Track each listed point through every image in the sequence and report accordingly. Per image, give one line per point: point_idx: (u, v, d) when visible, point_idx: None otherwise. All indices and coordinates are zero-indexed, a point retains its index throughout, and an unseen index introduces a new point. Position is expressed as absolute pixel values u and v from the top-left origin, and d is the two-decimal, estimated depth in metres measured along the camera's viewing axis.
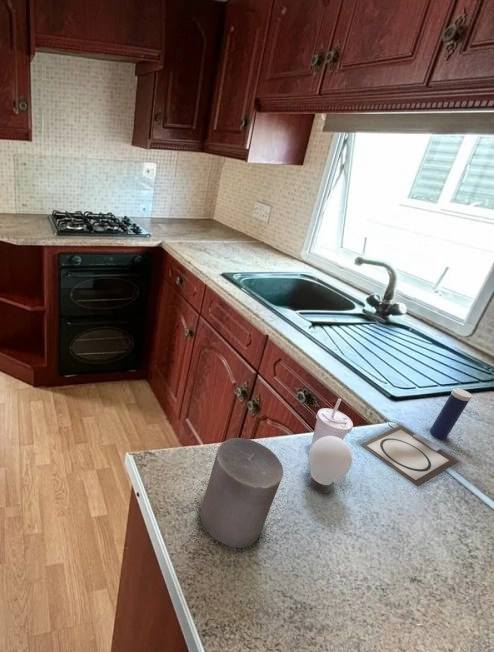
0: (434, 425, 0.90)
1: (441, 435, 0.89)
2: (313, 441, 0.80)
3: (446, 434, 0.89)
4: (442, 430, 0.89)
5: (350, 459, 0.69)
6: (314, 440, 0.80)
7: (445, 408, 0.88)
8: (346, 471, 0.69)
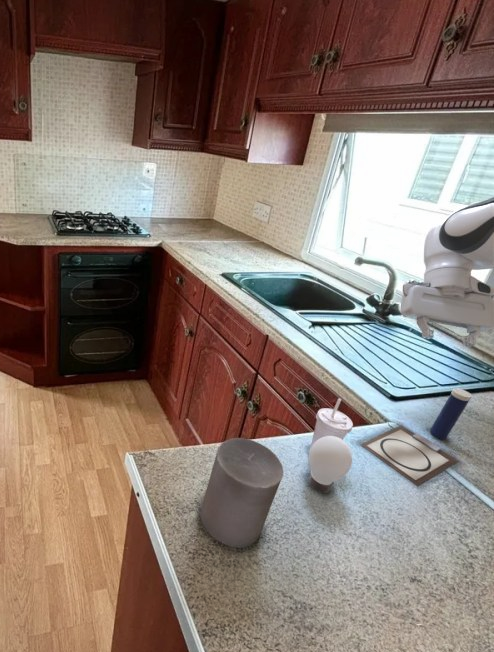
0: (434, 425, 0.90)
1: (441, 435, 0.89)
2: (313, 441, 0.80)
3: (446, 434, 0.89)
4: (442, 430, 0.89)
5: (350, 459, 0.69)
6: (314, 440, 0.80)
7: (445, 408, 0.88)
8: (346, 471, 0.69)
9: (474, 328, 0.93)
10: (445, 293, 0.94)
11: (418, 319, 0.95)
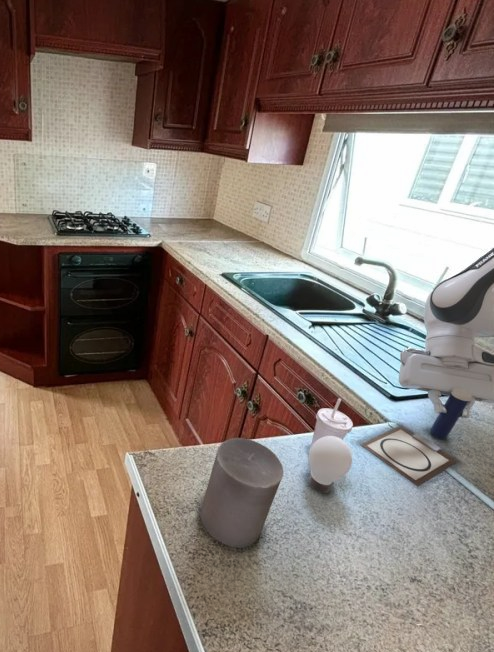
0: (434, 425, 0.90)
1: (441, 435, 0.89)
2: (313, 441, 0.80)
3: (446, 434, 0.89)
4: (442, 430, 0.89)
5: (350, 459, 0.69)
6: (314, 440, 0.80)
7: None
8: (346, 471, 0.69)
9: None
10: (446, 363, 0.89)
11: (429, 392, 0.90)
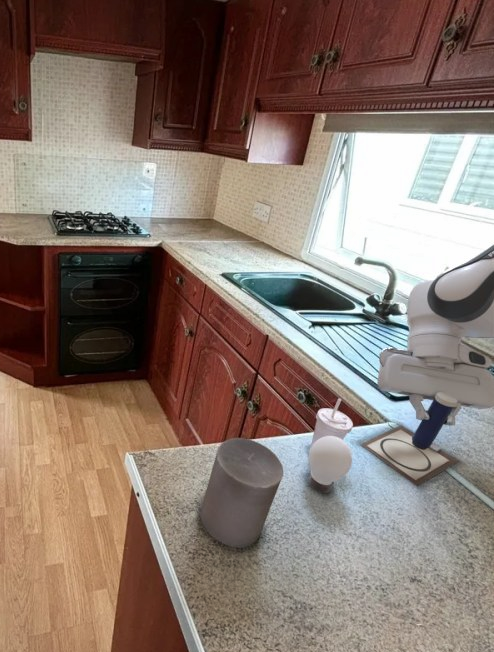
0: (416, 433, 0.81)
1: (424, 444, 0.80)
2: (313, 441, 0.80)
3: (429, 443, 0.80)
4: (424, 438, 0.80)
5: (350, 459, 0.69)
6: (314, 440, 0.80)
7: None
8: (346, 471, 0.69)
9: None
10: (429, 364, 0.80)
11: (411, 396, 0.81)
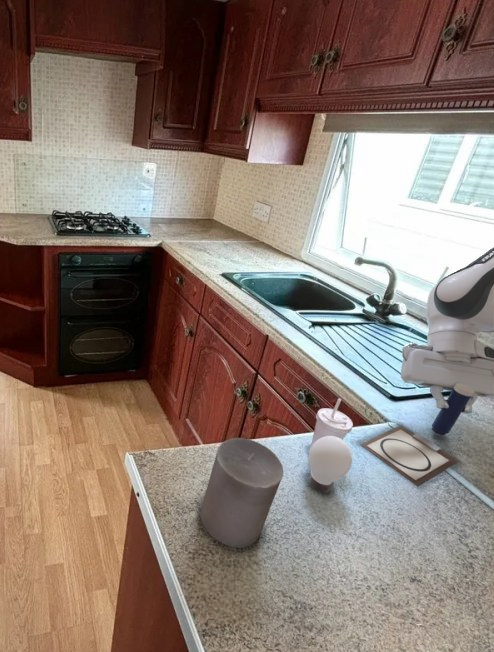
0: (436, 420, 0.90)
1: (443, 430, 0.89)
2: (313, 441, 0.80)
3: (448, 429, 0.89)
4: (444, 425, 0.88)
5: (350, 459, 0.69)
6: (314, 440, 0.80)
7: None
8: (346, 471, 0.69)
9: None
10: (448, 358, 0.89)
11: (431, 387, 0.89)
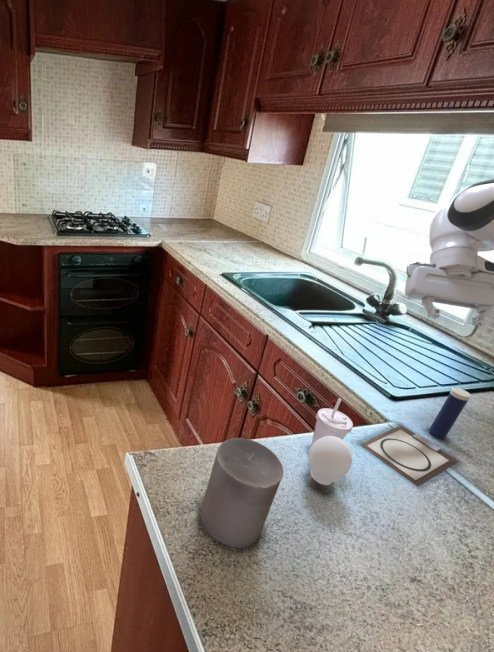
0: (433, 424, 0.90)
1: (440, 434, 0.89)
2: (313, 441, 0.80)
3: (445, 433, 0.89)
4: (441, 429, 0.89)
5: (350, 459, 0.69)
6: (314, 440, 0.80)
7: (444, 407, 0.88)
8: (346, 471, 0.69)
9: (483, 307, 0.91)
10: (450, 273, 0.93)
11: (423, 300, 0.94)
